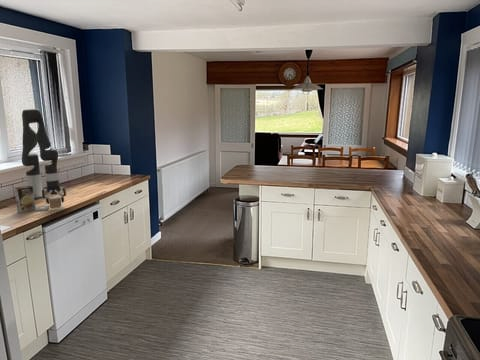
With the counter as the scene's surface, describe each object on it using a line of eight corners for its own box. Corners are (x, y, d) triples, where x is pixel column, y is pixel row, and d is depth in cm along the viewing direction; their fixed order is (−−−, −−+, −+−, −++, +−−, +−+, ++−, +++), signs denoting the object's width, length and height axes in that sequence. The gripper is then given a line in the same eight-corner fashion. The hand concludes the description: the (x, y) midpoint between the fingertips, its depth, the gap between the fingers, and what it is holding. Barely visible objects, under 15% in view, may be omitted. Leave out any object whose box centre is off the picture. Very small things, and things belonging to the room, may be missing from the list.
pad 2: (51, 206, 244) (51, 205, 244) (62, 205, 247) (62, 204, 246) (49, 210, 235) (48, 208, 235) (60, 209, 237) (60, 207, 237)
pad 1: (38, 207, 242) (38, 206, 242) (49, 206, 244) (49, 205, 244) (35, 211, 233) (35, 210, 232) (47, 210, 235) (47, 209, 235)
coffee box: (21, 213, 230) (17, 189, 226) (17, 211, 234) (13, 187, 230) (36, 209, 237) (32, 186, 233) (32, 208, 241) (28, 185, 237)
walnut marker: (51, 205, 243) (50, 197, 241) (61, 204, 244) (60, 196, 243) (50, 208, 237) (49, 199, 236) (60, 207, 239) (59, 198, 238)
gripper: (64, 177, 243) (67, 200, 246) (41, 179, 238) (44, 202, 241) (63, 179, 236) (66, 203, 239) (39, 181, 231) (42, 205, 234)
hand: (55, 202), depth 240 cm, fingers open, 8 cm apart
